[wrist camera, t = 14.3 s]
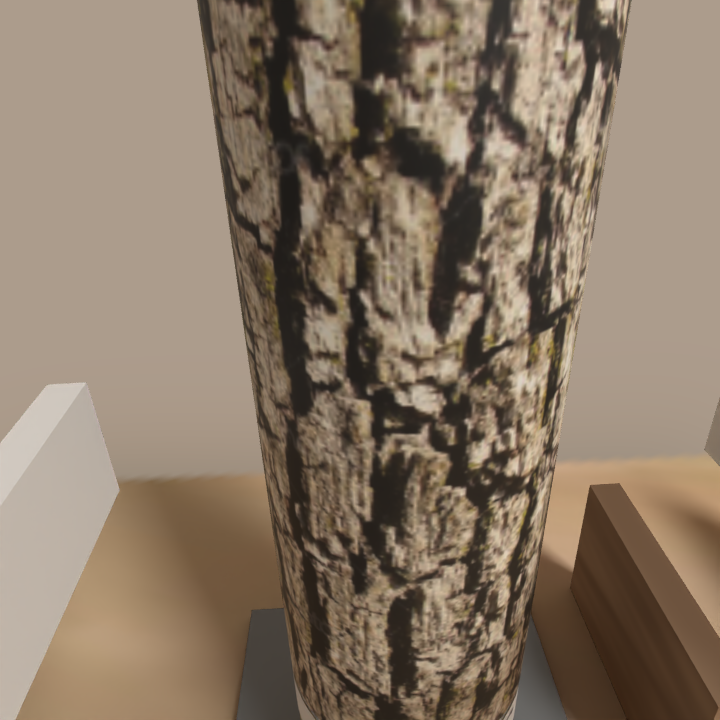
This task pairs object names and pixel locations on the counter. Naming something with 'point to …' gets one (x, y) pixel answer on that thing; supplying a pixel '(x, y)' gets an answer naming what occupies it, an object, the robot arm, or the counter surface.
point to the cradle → (643, 616)
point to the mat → (277, 687)
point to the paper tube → (410, 318)
